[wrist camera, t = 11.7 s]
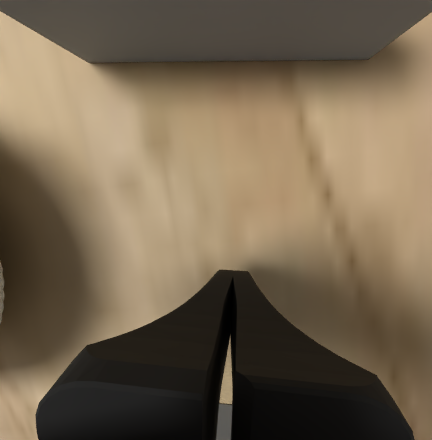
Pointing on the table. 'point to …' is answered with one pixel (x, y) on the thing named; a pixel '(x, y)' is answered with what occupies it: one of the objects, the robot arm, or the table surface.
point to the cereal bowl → (1, 292)
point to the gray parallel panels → (219, 36)
